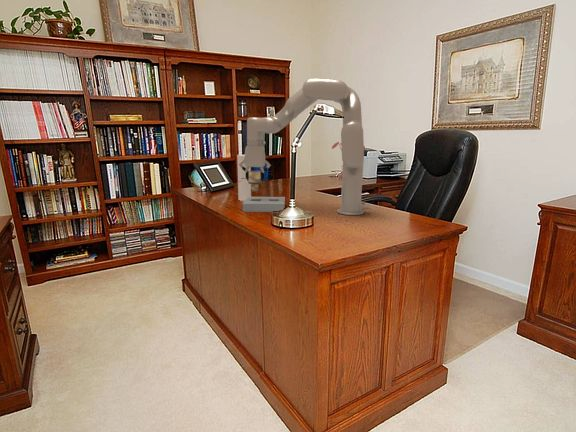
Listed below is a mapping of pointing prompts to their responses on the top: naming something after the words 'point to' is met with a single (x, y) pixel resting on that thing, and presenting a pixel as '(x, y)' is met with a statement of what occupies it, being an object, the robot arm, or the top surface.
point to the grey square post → (242, 181)
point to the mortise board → (263, 204)
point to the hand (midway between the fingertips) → (254, 180)
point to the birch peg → (254, 179)
